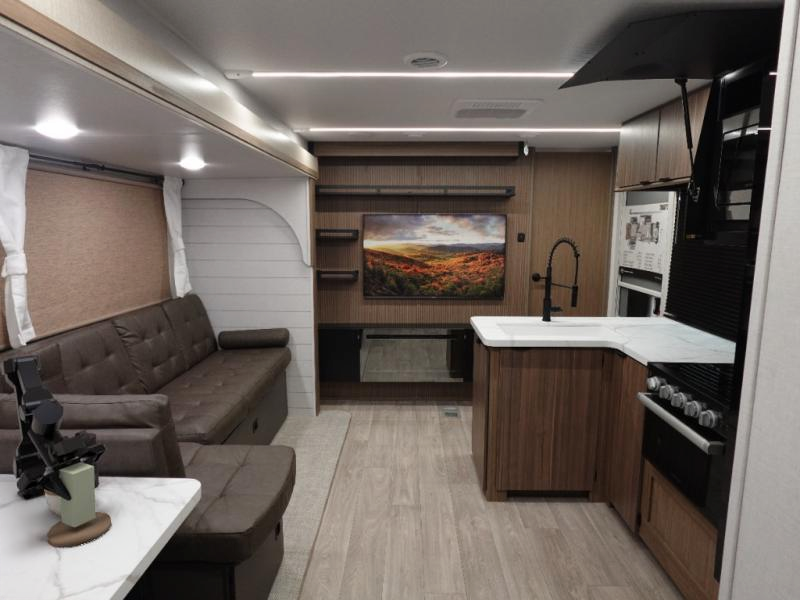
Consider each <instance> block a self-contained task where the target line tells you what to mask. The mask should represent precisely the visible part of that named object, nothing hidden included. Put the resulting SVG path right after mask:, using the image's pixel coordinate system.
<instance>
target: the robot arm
mask: <svg viewBox="0 0 800 600" xmlns="http://www.w3.org/2000/svg"><path fill="white" fill-rule="evenodd" d="M41 369H42V368H41V360H40V356H36V355H33V354H29V355H21V356H13V357H6V358H5V360H2V361H1V362H0V370H1V375H2V376H4V378H5V382H6V383H7V384H8V385H9V386H10V387H11V389H13V391H14V392H13V393H14V397H15V405H16V412H17V419H18V426H19V434H20V442H19V444H18V446H17V448H16V450H15V456H13V460H12V461H13V462H12V463H13V464H12V470H13V471H12V472H13V475H14V477H15V479H16V480H17V482H16V487H17V489H18V491H17V492H16V493H17V495H18V496H19V497H20V498H22V499H24V500H25V501H27V500H31V499H33V498H36V496H37V497H39V496H42V495H45V492H44V489H45V490H47V491H50V492H52V493H54V494H56V495H58V496H60V497H62V498H64V499H65V500H67V501H70V500H71V499H72V498H71V495H70V493H69V491H68V490H67V488H66V487H65V485H64V484H63V482H62V481H61V479H60V470H61V469H64V468H66V467H69V466H72V465H75V464H77V463H80V462H82V463H85V464H88V465H91V466H92V464H93V463H96V462H99V461H100V460H101V459H102V458H103V456H104V455H105V453H106V452H107V450H108V449H107V447H106V445H105V444H104V443H101V442H98V443H96V444H95V445H92V446H89V447H87V448H86V449H85V450H84V452H83V453H82V454H81V455H78V456H76V457H75V454H77V453H78V452H79V450H78V449H79V448H84V447H85V443H87V442H89V441H90V437H89V434H88V433H89V432H87V431H86V429H83V430H80V431H78V432H76V433H75V434H74V436H75V437H74V436H72V437H73V438H72V437H71V438H70V437H69V436H67V435H65V436H63V434H62V433H61V430H60V428H61V424H62V419H63V416H64V405H63V404H62V403H60V402H59V401H58V400H57V398H55V397H54V395H53V393H52V391H51V390H48V389H46V388H45V387H44V384H43V382H42V379H41V376H40V373H39V370H41Z"/></svg>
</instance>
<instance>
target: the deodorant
mask: <svg viewBox="0 0 800 600" xmlns="http://www.w3.org/2000/svg"><path fill="white" fill-rule="evenodd" d="M87 433H88V434H89V437H90V441H89V442H87V443H85V447H84V448H79V449H78V450H79V452H78V453H77V454H75V457H76V456H78V455H81V454H82V453H83V452H84V450H85V449H86V448H87V447H89V446H92V445H95V444H97V434H96V433H94V432H87ZM73 437H75V435H74V436H72V437H71V438H73ZM98 462H99V461H97V462H96V463H93V464H92V466H94V483H95V489H97V488H98V487H99V485H100V482H99V466H98Z"/></svg>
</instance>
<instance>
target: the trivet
mask: <svg viewBox="0 0 800 600" xmlns="http://www.w3.org/2000/svg"><path fill="white" fill-rule="evenodd" d="M95 517H96V518H94V519H92V520H90V521H88V522H85V523H83V524H81V525H79V526H77V527H72V526H70V525H67V524H65V523H62V519H61V520H59V521H58V522H56V523H55V524H54V525H52V526H51V527H50V528H49V529H48V531H47V533H46V534H47V535H46V537H47V543H48V545H50V546H51V547H53V546H54V547H53V548H58V547H59V548H61V547H63V549H64V547H69V548H74V547H73V546H75V547H79V546H78V545H80V546H82V545H81V544H83V545H85V544H84V543H86V544H88V543H87V542H89V543H91V542H90V541H92V540H94V539H96V540H98V539H100V538H101V537H103V536H104V535H106V534H107V533H108V532H109V530H110V529H111V528H110V527H112V518H111V517H112V516H110V514H108V513H107V512H102V511H95ZM109 528H110V529H109ZM107 531H108V532H107ZM106 532H107V533H106ZM103 534H104V535H103ZM102 535H103V536H102ZM100 536H101V537H100ZM99 537H100V538H99ZM97 538H98V539H97ZM94 541H95V540H94ZM92 542H93V541H92ZM61 549H62V548H61Z"/></svg>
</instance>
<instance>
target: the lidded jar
mask: <svg viewBox="0 0 800 600" xmlns="http://www.w3.org/2000/svg"><path fill="white" fill-rule="evenodd" d="M44 492H45V494H44V496H45V497H44V498H45V501H46V504H47V507H48V508H49V510H50V511H52V512H53V513H55V514H58V515H57V516H59V515H61V497H60V496H58V495H56V494H54V493H52V492H50V491H47V490H45V489H44Z"/></svg>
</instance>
